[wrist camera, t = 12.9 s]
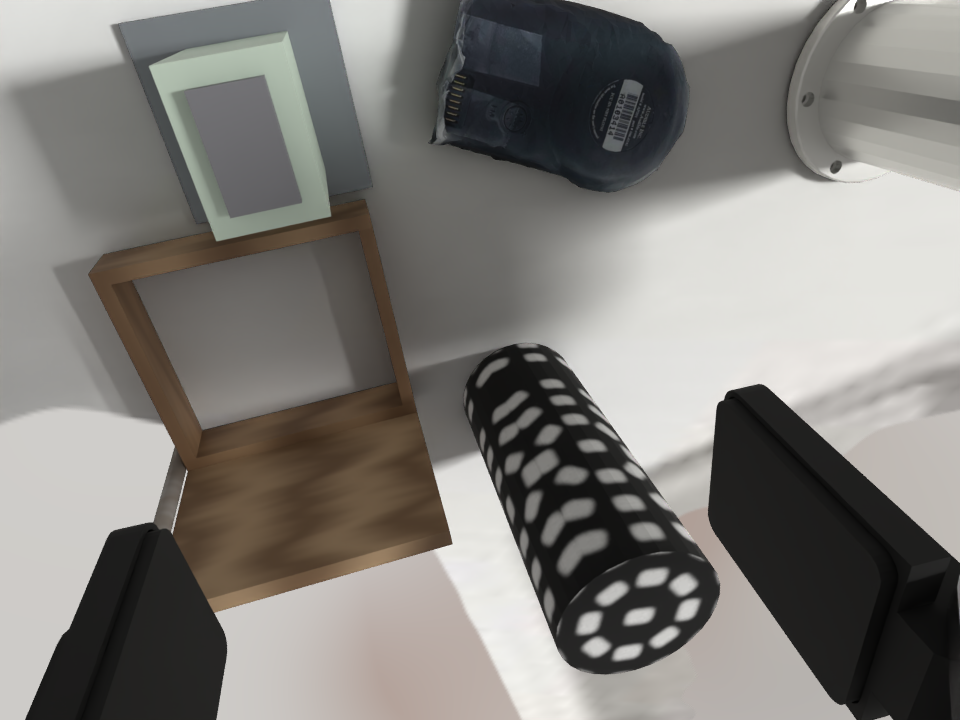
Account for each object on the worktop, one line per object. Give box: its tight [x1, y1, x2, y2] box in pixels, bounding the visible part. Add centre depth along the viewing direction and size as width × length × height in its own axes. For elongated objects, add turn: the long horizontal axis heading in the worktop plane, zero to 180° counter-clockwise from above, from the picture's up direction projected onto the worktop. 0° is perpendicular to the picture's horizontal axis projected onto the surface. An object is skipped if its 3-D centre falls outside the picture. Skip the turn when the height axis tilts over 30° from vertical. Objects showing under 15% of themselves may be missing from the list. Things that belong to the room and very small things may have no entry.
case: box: [88, 199, 452, 613], centre depth 34 cm, size 16×15×14 cm
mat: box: [118, 0, 373, 224], centre depth 34 cm, size 10×10×1 cm
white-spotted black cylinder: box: [464, 343, 720, 674], centre depth 38 cm, size 8×8×20 cm
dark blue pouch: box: [428, 0, 689, 192], centre depth 36 cm, size 9×6×15 cm
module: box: [149, 31, 331, 241], centre depth 29 cm, size 5×7×10 cm
